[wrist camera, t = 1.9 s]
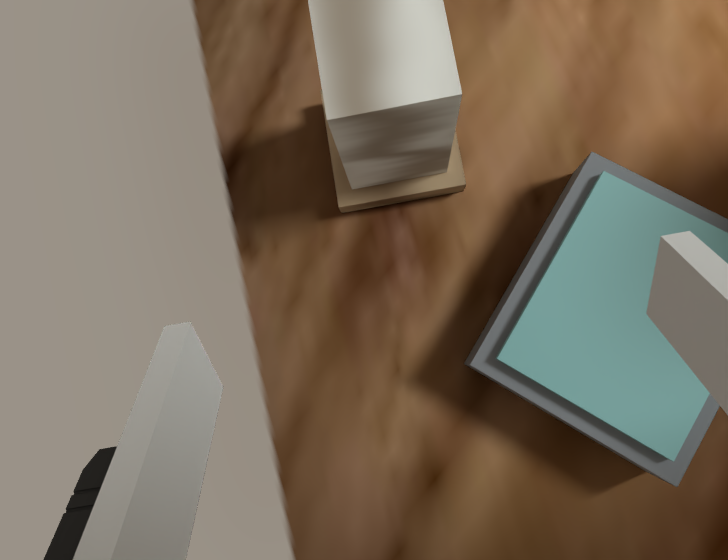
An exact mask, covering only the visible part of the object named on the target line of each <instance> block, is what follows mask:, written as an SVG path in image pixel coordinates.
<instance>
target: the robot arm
mask: <svg viewBox="0 0 728 560" xmlns="http://www.w3.org/2000/svg"><path fill="white" fill-rule="evenodd" d="M646 314H647V315H648V317H649V318H650V319H651V320H652V322H653V323H654V324H655V325H656V326H657V328H658V329H659V330H660V331H661V333H662V334H663V335H664V336H665V338H666V339H667V340H668V341H669V343H670V344H671V345H672V346H673V348H674V349H675V350H676V351H677V353H678V354H679V355H680V356H681V358H682V359H683V360H684V361H685V363H686V364H687V365H688V366H689V368H690V369H691V370H692V371H693V373H694V374H695V375H696V376H697V378H698V379H699V380H700V381H701V383H702V384H703V385H704V386H705V388H706V389H707V390H708V391H709V393H710V394H711V395H712V396H713V398H714V399H715V400H716V401H717V403H718V404H719V405H720V406H721V408H722V409H723V410H724V411H725V413H726V414H727V415H728V264H727V263H726V262H725V261H724V260H723V259H722V258H721V257H719V256H718V255H717V254H716V253H715V252H714V251H713V250H711V249H710V248H709V247H708V246H707V245H706V244H704V243H703V242H702V241H701V240H700V239H699V238H698V237H696V236H695V235H694V234H693V233H692V232H691V231H686V232H680V233H675V234H669V235H664V236H661V238H660V243H659V248H658V254H657V259H656V264H655V269H654V275H653V280H652V285H651V290H650V296H649V301H648V306H647V312H646ZM222 391H223V385H222V383H221V381H220V379H219V377H218V375H217V373H216V371H215V369H214V367H213V365H212V363H211V361H210V359H209V357H208V355H207V353H206V351H205V349H204V347H203V345H202V343H201V341H200V339H199V338H198V335H197V333H196V332H195V329H194V327H193V325H192V323H191V322H185V323H179V324H174V325H169V326H164V329H163V331H162V334H161V336H160V339H159V342H158V344H157V347H156V349H155V352H154V354H153V357H152V360H151V362H150V364H149V367H148V370H147V372H146V375H145V377H144V380H143V382H142V385H141V387H140V390H139V392H138V395H137V397H136V400H135V403H134V405H133V408H132V410H131V413H130V415H129V418H128V420H127V423H126V425H125V428H124V430H123V433H122V436H121V438H120V441H119V443H118V446H117V447H110V448H105V449H100V450H99V451H98V452H97V453H96V454H95V456H94V457H93V458H92V459H91V461H90V462H89V463H88V464H87V465H86V467H85V468H84V469H83V471H82V473H81V475H80V478H79V480H78V482H77V485H76V487H75V489H74V495H72V496H71V498H70V501H69V503H68V505H67V507H66V513H64V514H63V517H62V519H61V521H60V523H59V526H58V528H57V530H56V533H55V535H54V537H53V539H52V542H51V544H50V546H49V548H48V551H47V553H46V555H45V558H44V560H186V556H187V552H188V547H189V542H190V537H191V533H192V529H193V524H194V520H195V515H196V510H197V506H198V501H199V497H200V492H201V488H202V483H203V478H204V474H205V469H206V465H207V460H208V455H209V451H210V446H211V442H212V437H213V433H214V428H215V423H216V419H217V414H218V410H219V405H220V400H221V396H222Z"/></svg>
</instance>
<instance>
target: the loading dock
mask: <svg viewBox="0 0 728 560" xmlns="http://www.w3.org/2000/svg"><path fill="white" fill-rule="evenodd" d="M686 231H691V232H692V233H693V234H694V235H695V236H696V237H698V238H699V239H700V240H701V241H702V242H703V243H704V244H706V245H707V246H708V247H709V248H710V249H711V250H713V251H714V252H715V253H716V254H717V255H718V256H719V257H721V258H722V259H723V260H724V261H725V262H726V263H727V264H728V219H726V218H724V217H722V216H720V215H718V214H716V213H714V212H712V211H710V210H708V209H706V208H704V207H702V206H700V205H698V204H696V203H694V202H692V201H690V200H688V199H686V198H684V197H682V196H680V195H678V194H676V193H674V192H672V191H670V190H668V189H666V188H664V187H662V186H660V185H658V184H656V183H654V182H652V181H650V180H648V179H646V178H644V177H642V176H640V175H638V174H636V173H634V172H632V171H630V170H628V169H626V168H624V167H622V166H620V165H618V164H616V163H614V162H612V161H610V160H608V159H606V158H604V157H602V156H600V155H598V154H596V153H594V152H591V153H590V154H589V156H588V157H587V158H586V159H585V160H584V161H583V162H582V163H581V165H580V166H579V167H578V168H577V169H576V170H575V171H574V172H573V174H572V176H571V178H570V179H569V181H568V183H567V185H566V186H565V188H564V190H563V192H562V193H561V195H560V197H559V199H558V200H557V202H556V204H555V206H554V207H553V209H552V211H551V213H550V214H549V216H548V218H547V219H546V221H545V223H544V225H543V226H542V228H541V230H540V232H539V233H538V235H537V237H536V239H535V240H534V242H533V244H532V246H531V247H530V249H529V251H528V253H527V254H526V256H525V258H524V260H523V261H522V263H521V265H520V267H519V268H518V270H517V272H516V274H515V275H514V277H513V279H512V281H511V282H510V284H509V286H508V288H507V289H506V291H505V293H504V295H503V296H502V298H501V300H500V302H499V303H498V305H497V307H496V309H495V310H494V312H493V314H492V315H491V317H490V319H489V321H488V322H487V324H486V326H485V328H484V329H483V331H482V333H481V335H480V336H479V338H478V340H477V342H476V343H475V345H474V347H473V349H472V350H471V352H470V354H469V356H468V357H467V359H466V361H465V363H464V364H465V365H467V366H469V367H470V368H472V369H474V370H475V371H477V372H479V373H480V374H482V375H484V376H485V377H487V378H489V379H490V380H492V381H494V382H496V383H497V384H499V385H501V386H502V387H504V388H506V389H507V390H509V391H511V392H512V393H514V394H516V395H518V396H519V397H521V398H523V399H524V400H526V401H528V402H529V403H531V404H533V405H534V406H536V407H538V408H540V409H541V410H543V411H545V412H546V413H548V414H550V415H551V416H553V417H555V418H556V419H558V420H560V421H561V422H563V423H565V424H567V425H568V426H570V427H572V428H573V429H575V430H577V431H578V432H580V433H582V434H583V435H585V436H587V437H589V438H590V439H592V440H594V441H595V442H597V443H599V444H600V445H602V446H604V447H605V448H607V449H609V450H611V451H612V452H614V453H616V454H617V455H619V456H621V457H622V458H624V459H626V460H627V461H629V462H631V463H633V464H634V465H636V466H638V467H639V468H641V469H643V470H644V471H646V472H648V473H650V474H652V475H654V476H656V477H658V478H660V479H662V480H664V481H666V482H668V483H670V484H672V485H674V486H676V487H678V485H679V483H680V481H681V479H682V477H683V475H684V473H685V471H686V470H687V468H688V466H689V464H690V462H691V460H692V458H693V456H694V454H695V452H696V451H697V449H698V447H699V445H700V443H701V441H702V439H703V437H704V435H705V433H706V431H707V430H708V428H709V426H710V424H711V422H712V420H713V418H714V416H715V414H716V412H717V410H718V409H719V407H720V405H719V404H718V403H717V401H716V400H715V399H714V398H713V396H712V395H711V394H710V393H709V391H708V390H707V389H706V388H705V386H704V385H703V384H702V383H701V381H700V380H699V379H698V378H697V376H696V375H695V374H694V373H693V371H692V370H691V369H690V368H689V366H688V365H687V364H686V363H685V361H684V360H683V359H682V358H681V356H680V355H679V354H678V353H677V351H676V350H675V349H674V348H673V346H672V345H671V344H670V343H669V341H668V340H667V339H666V338H665V336H664V335H663V334H662V333H661V331H660V330H659V329H658V328H657V326H656V325H655V324H654V323H653V322H652V320H651V319H650V318H649V317H648V315H647V314H646V312H647V306H648V301H649V296H650V290H651V285H652V280H653V275H654V269H655V264H656V259H657V254H658V248H659V243H660V238H661V236H664V235H669V234H675V233H680V232H686Z"/></svg>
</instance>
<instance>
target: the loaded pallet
mask: <svg viewBox="0 0 728 560" xmlns="http://www.w3.org/2000/svg"><path fill="white" fill-rule="evenodd" d="M308 3H309V9H310V16H311V22H312V29H313V35H314V41H315V48H316V54H317V61H318V67H319V73H320V80H321V86H322V90H320V91H321V97H322V104H323V110H324V117H325V123H326V129H327V136H328V142H329V149H330V155H331V161H332V168H333V174H334V181H335V187H336V194H337V200H338V206H339V209H340V211H341V212H342V213H345V212H350V211H356V210H361V209H367V208H373V207H378V206H384V205H389V204H395V203H400V202H406V201H411V200H417V199H422V198H428V197H433V196H439V195H444V194H450V193H455V192H461V191H463V190H464V189H465V187H466V181H465V176H464V171H463V166H462V161H461V156H460V151H459V146H458V141H457V136H456V131H455V128H456V123H457V118H458V113H459V108H460V102H461V97H462V91H461V86H460V81H459V76H458V71H457V66H456V61H455V57H454V52H453V47H452V42H451V37H450V32H449V27H448V22H447V17H446V12H445V7H444V2H443V0H308Z"/></svg>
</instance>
